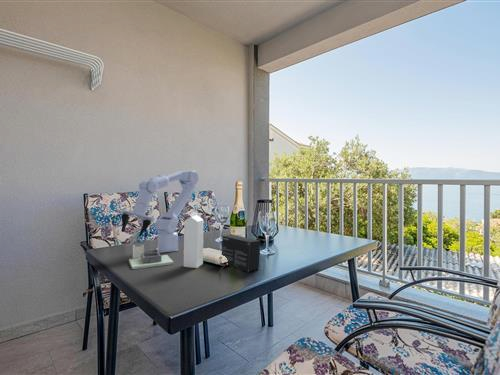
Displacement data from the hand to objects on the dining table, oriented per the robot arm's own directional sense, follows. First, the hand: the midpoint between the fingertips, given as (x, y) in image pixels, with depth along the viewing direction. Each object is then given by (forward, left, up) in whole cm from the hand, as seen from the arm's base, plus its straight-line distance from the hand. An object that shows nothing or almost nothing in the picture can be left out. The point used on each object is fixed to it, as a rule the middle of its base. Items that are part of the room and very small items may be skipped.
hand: (131, 234), depth 122 cm
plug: (-3, +1, -11) cm, 12 cm away
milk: (-22, +20, -11) cm, 32 cm away
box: (-39, +29, -11) cm, 50 cm away
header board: (-7, +9, -11) cm, 16 cm away
